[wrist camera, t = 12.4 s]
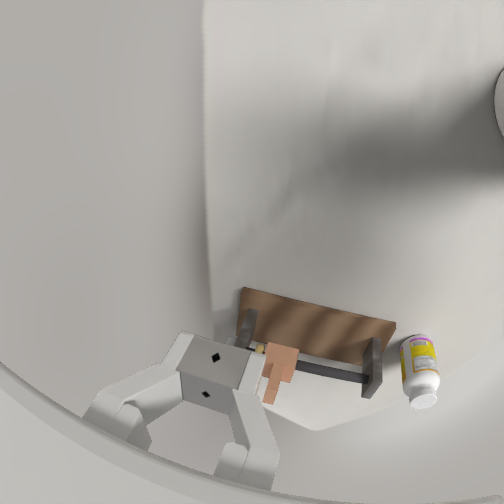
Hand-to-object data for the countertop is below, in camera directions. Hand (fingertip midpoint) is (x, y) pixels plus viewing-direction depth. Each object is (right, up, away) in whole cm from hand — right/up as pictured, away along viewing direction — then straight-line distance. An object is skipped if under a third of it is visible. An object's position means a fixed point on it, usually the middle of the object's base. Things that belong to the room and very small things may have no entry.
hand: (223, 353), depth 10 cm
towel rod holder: (+12, -10, +44) cm, 47 cm away
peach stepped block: (+6, -13, +38) cm, 41 cm away
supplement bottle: (+31, -14, +40) cm, 53 cm away
